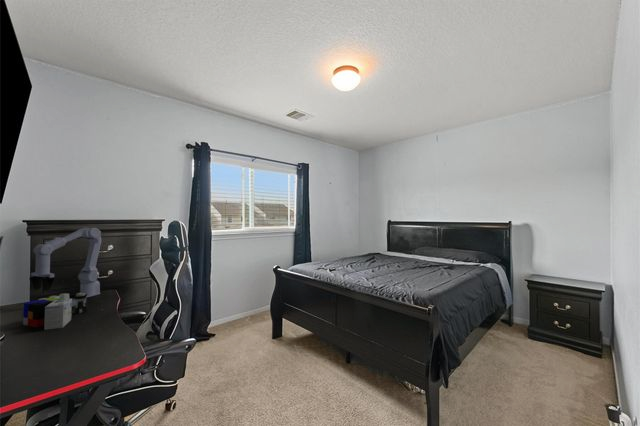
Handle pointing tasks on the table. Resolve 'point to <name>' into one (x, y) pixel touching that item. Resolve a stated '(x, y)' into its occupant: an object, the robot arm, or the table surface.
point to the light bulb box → (57, 314)
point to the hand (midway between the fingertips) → (42, 289)
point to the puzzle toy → (36, 312)
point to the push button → (80, 303)
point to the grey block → (64, 296)
